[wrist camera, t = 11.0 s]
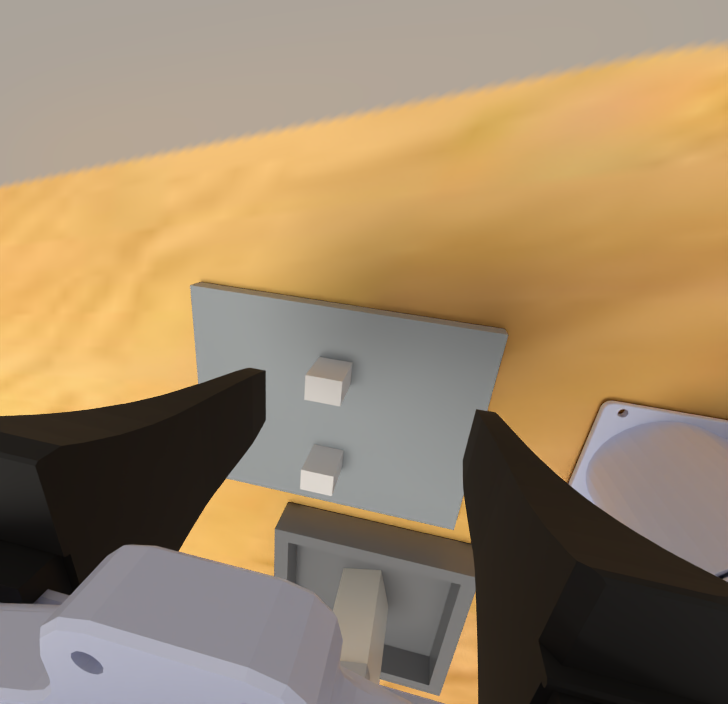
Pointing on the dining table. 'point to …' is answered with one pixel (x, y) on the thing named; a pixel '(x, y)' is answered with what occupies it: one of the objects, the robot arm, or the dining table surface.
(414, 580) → the parts tray
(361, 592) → the block
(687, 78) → the dining table surface
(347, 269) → the dining table surface
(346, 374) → the panel
